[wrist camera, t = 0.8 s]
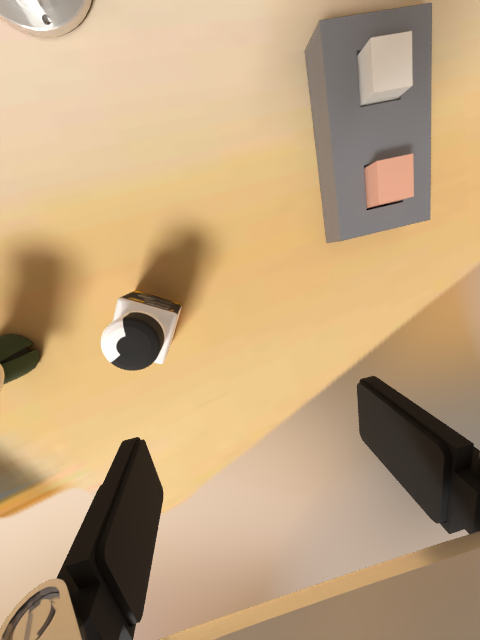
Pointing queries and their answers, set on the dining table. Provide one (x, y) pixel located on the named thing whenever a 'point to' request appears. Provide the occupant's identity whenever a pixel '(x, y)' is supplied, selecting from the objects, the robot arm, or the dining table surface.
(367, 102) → the ivory key
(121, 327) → the medicine bottle
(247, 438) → the dining table surface
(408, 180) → the terracotta key
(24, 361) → the character mug
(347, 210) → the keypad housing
